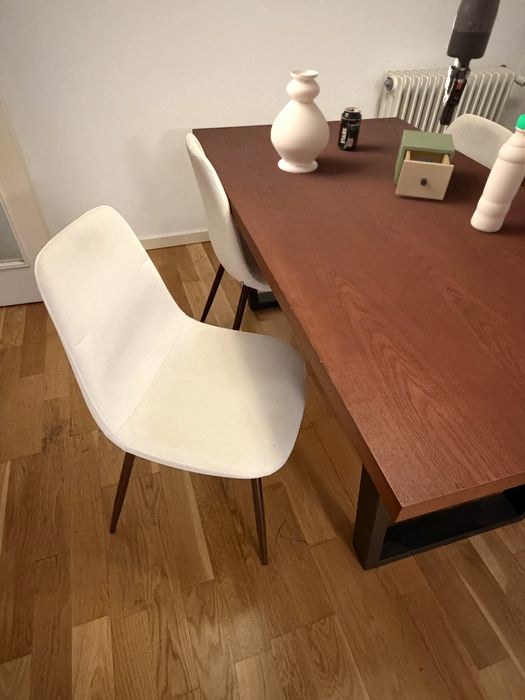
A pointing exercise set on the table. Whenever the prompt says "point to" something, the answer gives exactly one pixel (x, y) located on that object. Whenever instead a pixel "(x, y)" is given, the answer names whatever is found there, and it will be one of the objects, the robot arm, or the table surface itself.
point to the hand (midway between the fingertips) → (444, 122)
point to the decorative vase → (300, 125)
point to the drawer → (424, 175)
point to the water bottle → (502, 182)
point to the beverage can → (349, 128)
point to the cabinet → (423, 146)
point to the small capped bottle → (426, 159)
